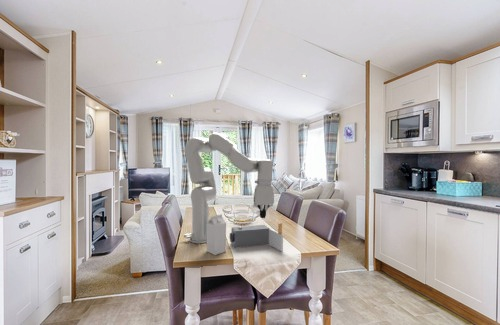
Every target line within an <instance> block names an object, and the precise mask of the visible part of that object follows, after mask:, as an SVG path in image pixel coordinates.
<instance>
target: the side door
mask: <svg viewBox="0 0 500 325" xmlns="http://www.w3.org/2000/svg"><path fill="white" fill-rule="evenodd" d="M277 226H278V227H277V230H275V229H272V228H270V229H269V244H268V245H270V246H271V247H273V248H274V249H276V250H278V251H280V252H283V251H284V234H283V222H278V224H277Z"/></svg>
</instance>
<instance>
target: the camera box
mask: <svg viewBox="0 0 500 325" xmlns="http://www.w3.org/2000/svg"><path fill="white" fill-rule="evenodd" d="M269 229H271V228H270V227H268V226H267V225H265V224H259V225H246V226H233V227H231V230H230V231H231V232H230V233H229V242H230V243H231V245H232V246H233V247H234V248H235V249H236V248H244V247H245V248H246V247H256V246H255V245H257V246H264V245H265V246H266V245H269Z"/></svg>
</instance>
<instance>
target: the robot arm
mask: <svg viewBox="0 0 500 325" xmlns="http://www.w3.org/2000/svg"><path fill="white" fill-rule="evenodd" d="M184 146H185V147H184V154H185V158H186V161H187V167H188V168H187V169H188V173H189V179H190V181H191V183H192V184H193V185H198V186H196V187H194V188H193V189H192V191H191V192H190V200H191V208H192V212H191V213H192V214H191V215H192V222H191V223H192V226H191V227H192V229H191V232H190V233H184V234H183V238H184V239H189V242H190V243H193V244H205V243H206V244H207V222H208V221H209V220H210V209H209V204H208V202H210V201H213V200H214V199H215V198H216V196H217V187H216V181H215V177H214V173H213V171H212V170H211V168H210V167H204V165H203V159H202V157H201V155H200V153H210V152H215V151H217V152H218V153H220V154H222V155H224V157H226V158H227V159H228V161H229V162H230V163H231V164H232V166H234V167H235V168H237V169H238V170H239V171H241V172H243V173H247V174H249V173H255V172H256V173H257V179H256V180H254V183H255V184H256V185H255V186H254V192H253V205H252V206H253V207H255V208H258V210H259V217H260V218H261V219H266V216H267V211H268V209H269V208H271V207H273V206H274V204H275V192H274V191H275V190H274V185H272V184H273V182H272V181H273V164H274V163H273V160H272V159H267V158H266V159H265V158H264V159H263V158H261V159H260V158H256V157H247V156H246V155H245V154H243V153H241V152H240V151H239V150H238V146H237V144H236V143H234V142H233V141H231V140H230V138H229V136H228V135H226V134H224V133H218V132H213V133H211V134H210V135H209V136H208V137H207V138H206V137H198V136H195V137H192V138H190V139H188V140H187V142H186V144H185V145H184ZM199 185H200V186H199Z"/></svg>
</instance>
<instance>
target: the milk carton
mask: <svg viewBox="0 0 500 325" xmlns="http://www.w3.org/2000/svg"><path fill="white" fill-rule="evenodd" d="M226 238H227V223H226V221H225V219H224V217H223V213H221V214H217V215H212V216H211V215H210V218H209V221H208V222H207V242H206V252H208V253H210V254H212V255H213V256H216V255H219V254H223V253H225V252H227V248H226V247H227V239H226Z"/></svg>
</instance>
